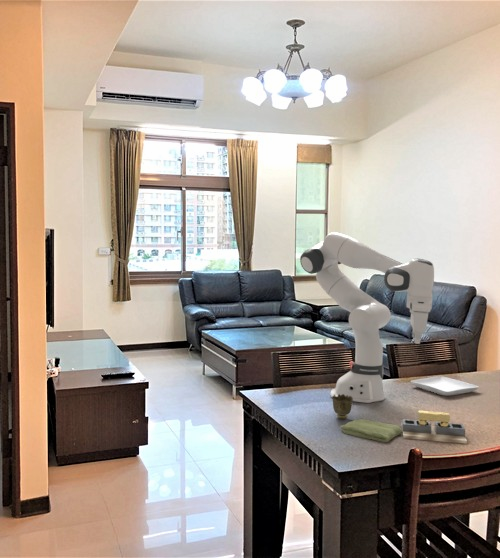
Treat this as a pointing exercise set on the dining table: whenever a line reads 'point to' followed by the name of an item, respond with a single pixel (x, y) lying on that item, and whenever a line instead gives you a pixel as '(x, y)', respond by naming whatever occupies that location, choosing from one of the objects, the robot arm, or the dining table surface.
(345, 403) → the cup
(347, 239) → the robot arm
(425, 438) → the chain board
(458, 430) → the chain ends
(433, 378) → the salad plate
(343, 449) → the dining table surface
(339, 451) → the dining table surface
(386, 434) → the washcloth
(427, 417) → the tan bar
